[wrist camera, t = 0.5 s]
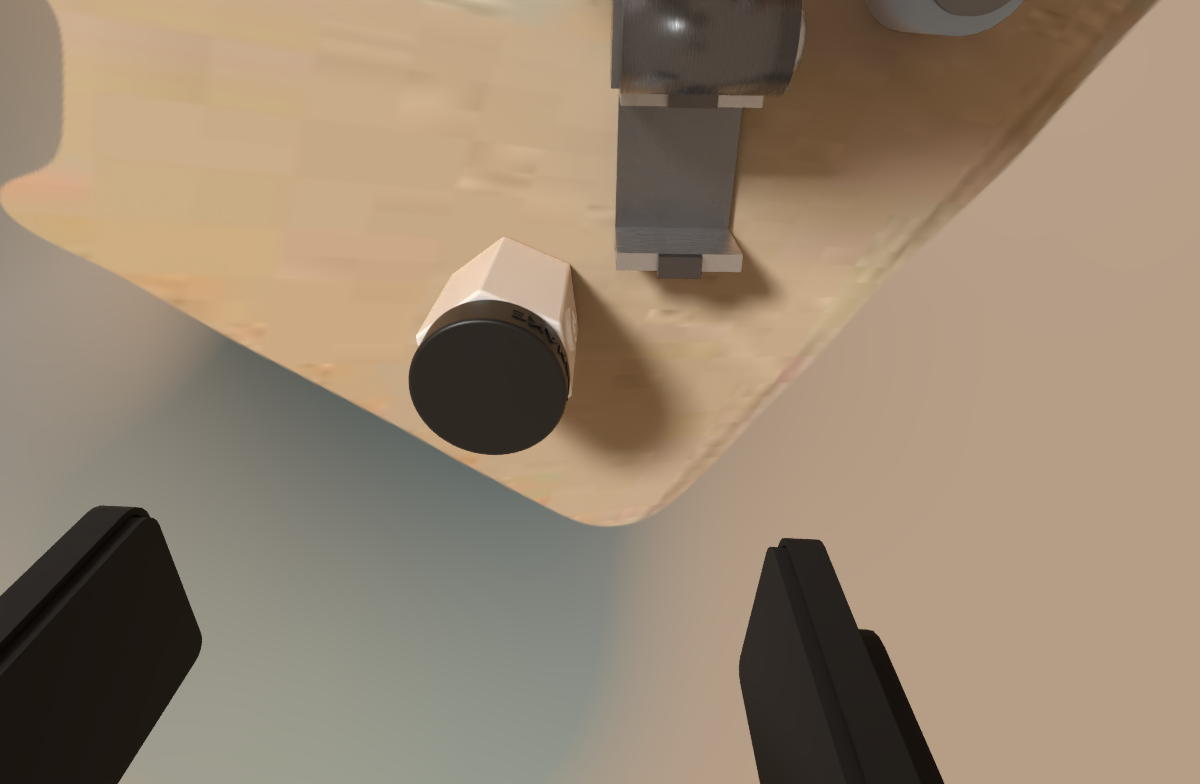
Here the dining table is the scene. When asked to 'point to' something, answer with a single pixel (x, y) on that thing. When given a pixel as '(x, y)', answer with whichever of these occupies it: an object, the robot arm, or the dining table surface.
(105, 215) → the dining table surface
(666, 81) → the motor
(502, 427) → the jar
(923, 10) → the grey plastic cylinder
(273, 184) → the dining table surface
